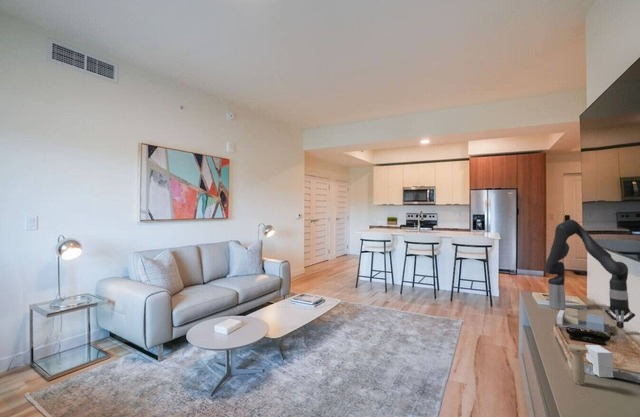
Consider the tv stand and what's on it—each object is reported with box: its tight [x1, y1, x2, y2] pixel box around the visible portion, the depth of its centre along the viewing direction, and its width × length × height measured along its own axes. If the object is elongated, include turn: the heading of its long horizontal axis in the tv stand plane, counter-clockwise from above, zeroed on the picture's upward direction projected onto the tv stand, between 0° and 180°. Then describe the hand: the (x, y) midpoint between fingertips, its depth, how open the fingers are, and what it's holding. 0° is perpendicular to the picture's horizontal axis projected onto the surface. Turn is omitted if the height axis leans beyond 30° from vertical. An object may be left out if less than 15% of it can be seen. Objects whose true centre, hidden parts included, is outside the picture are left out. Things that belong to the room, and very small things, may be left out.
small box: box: [584, 344, 615, 378], centre depth 132 cm, size 8×6×10 cm
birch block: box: [564, 307, 580, 324], centre depth 185 cm, size 4×6×8 cm, turn 47°
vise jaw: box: [585, 313, 606, 332], centre depth 178 cm, size 16×8×4 cm, turn 136°
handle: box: [566, 343, 588, 386], centre depth 125 cm, size 5×6×15 cm
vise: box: [554, 309, 610, 334], centre depth 182 cm, size 16×24×6 cm, turn 46°
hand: (620, 328), depth 171 cm, fingers closed
